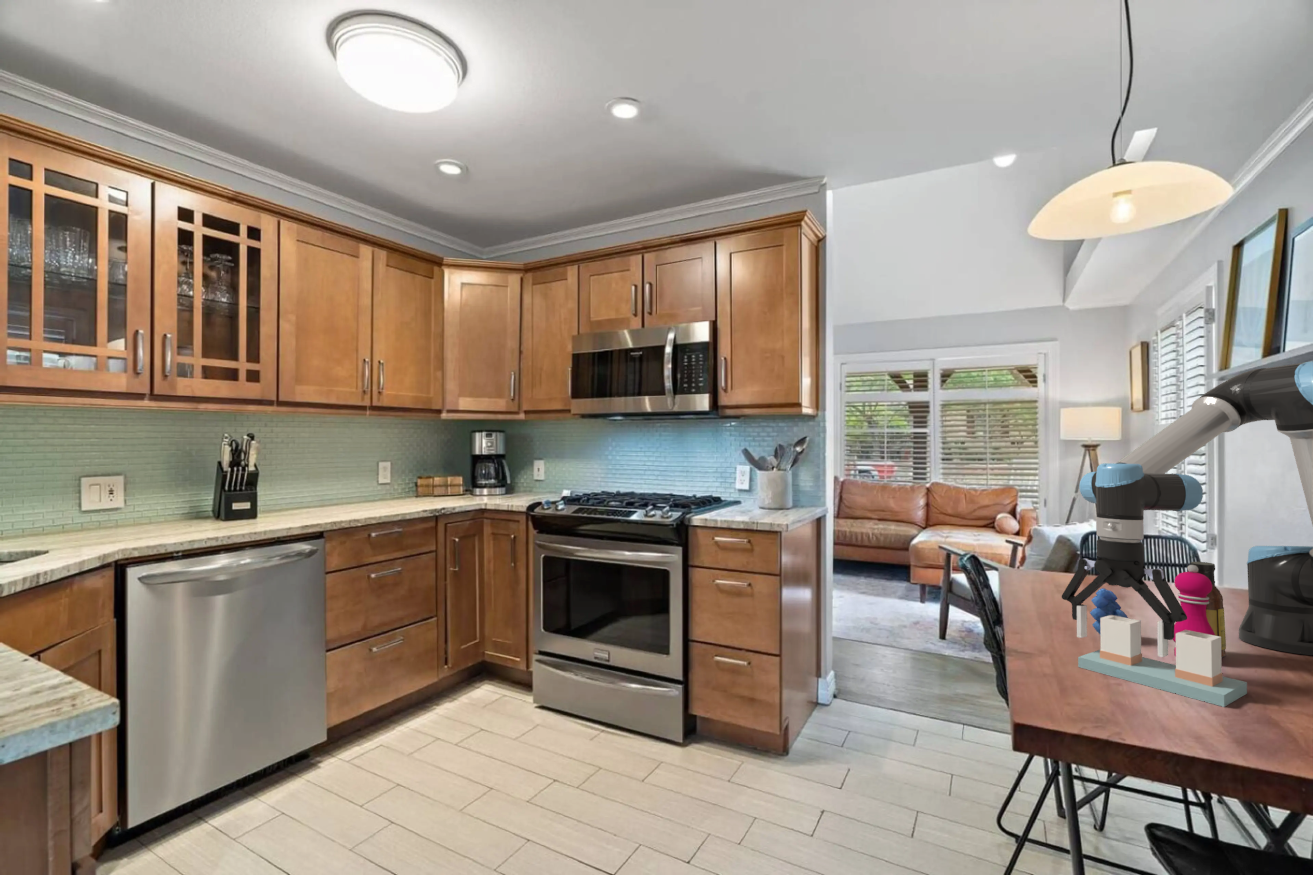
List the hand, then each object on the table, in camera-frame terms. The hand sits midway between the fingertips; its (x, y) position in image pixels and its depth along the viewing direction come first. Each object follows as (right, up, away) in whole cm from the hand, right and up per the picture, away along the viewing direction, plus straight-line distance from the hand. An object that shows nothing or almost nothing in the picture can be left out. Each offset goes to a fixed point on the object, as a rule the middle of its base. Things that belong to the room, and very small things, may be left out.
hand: (1120, 645), depth 119 cm
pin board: (+3, -5, -5) cm, 8 cm away
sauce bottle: (+27, -6, +11) cm, 30 cm away
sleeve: (0, -3, 0) cm, 3 cm away
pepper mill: (+21, -6, +7) cm, 23 cm away
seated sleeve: (+6, -3, -10) cm, 12 cm away
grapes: (+13, -6, +20) cm, 25 cm away
